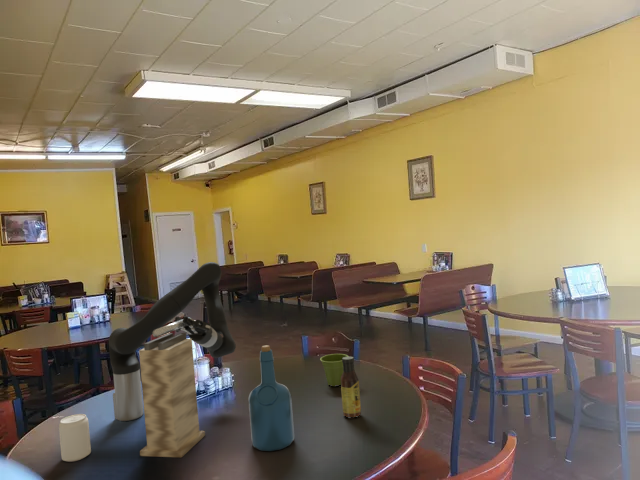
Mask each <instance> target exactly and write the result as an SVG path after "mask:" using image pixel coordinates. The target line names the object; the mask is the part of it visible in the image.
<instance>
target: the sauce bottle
mask: <svg viewBox="0 0 640 480" xmlns="http://www.w3.org/2000/svg"><path fill="white" fill-rule="evenodd" d="M342 362H343V371H344V372H343V374H342V376H341V386H340V387H341V388H340V391H341V406H342V412H343V417H344V416H346V417H356V416H359V415H360V414H362V407H361V392H360V381H359V378H358V375H357V373H356V371H355V365H354V364H355V363H354V362H355V358H354V356H349V357H343V358H342ZM360 416H361V415H360ZM360 416H359V417H360ZM346 417H345V418H346Z"/></svg>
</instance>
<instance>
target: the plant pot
mask: <svg viewBox="0 0 640 480" xmlns="http://www.w3.org/2000/svg"><path fill="white" fill-rule="evenodd" d="M343 357H350V356H349V355H348V354H344V353H331V354H330V353H329V354H326V355H324V356H321V357H320V359H319V360H320V361H321V364H322V367H323V371H324V374H325V378H326V381H327V385H328V386H329V385H332V386H335V385H341V376H342V374H343V372H344V371H343V362H342V358H343Z"/></svg>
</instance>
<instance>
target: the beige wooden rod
mask: <svg viewBox="0 0 640 480" xmlns="http://www.w3.org/2000/svg"><path fill="white" fill-rule="evenodd" d="M187 317H188V318H190V319H192V317H190V316H187ZM181 319H182V320H180V321H177V322H175V321H174V322H172V323H169V324H165V325H164V326H162V327H161V328H158V329H156V330H154V331H153V333H152V336H153V337H154V338H159V337H161V336H164V335H166V334H169V333H172V332H174V331H176V329H179V328H181V327H184V326H186V324H185V323H183V318H181Z"/></svg>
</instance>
